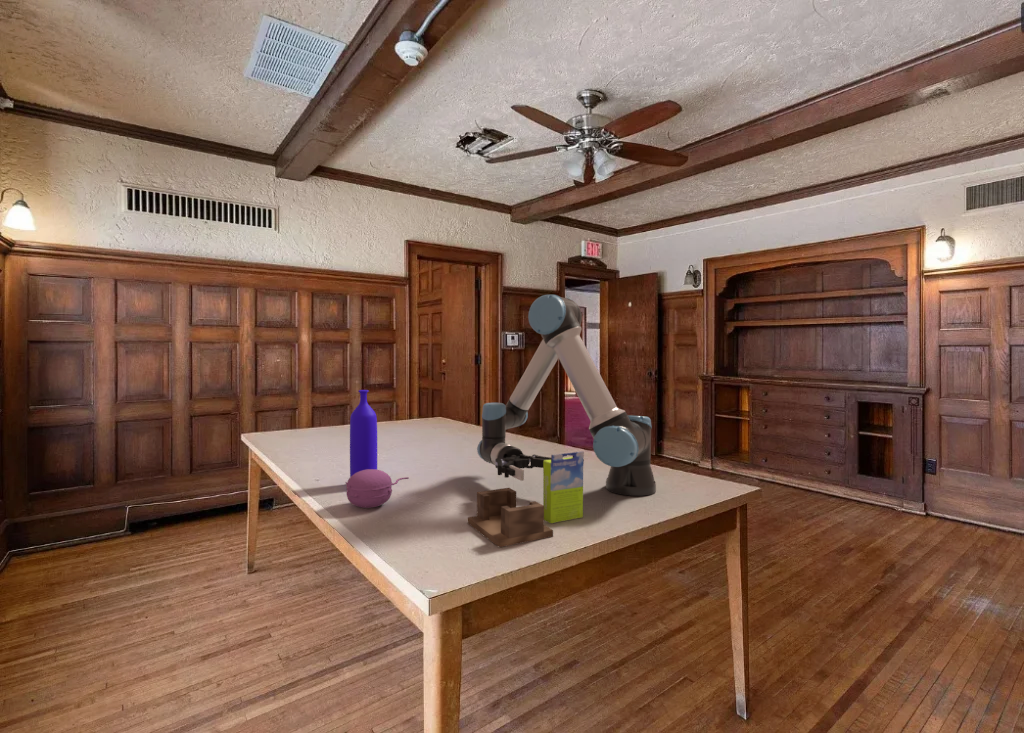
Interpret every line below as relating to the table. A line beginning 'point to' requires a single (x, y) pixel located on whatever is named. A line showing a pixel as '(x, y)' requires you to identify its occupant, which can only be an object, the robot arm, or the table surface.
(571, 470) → the box
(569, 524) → the table surface
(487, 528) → the slot stand
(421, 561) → the table surface
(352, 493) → the pink toy mouse
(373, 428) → the bottle
